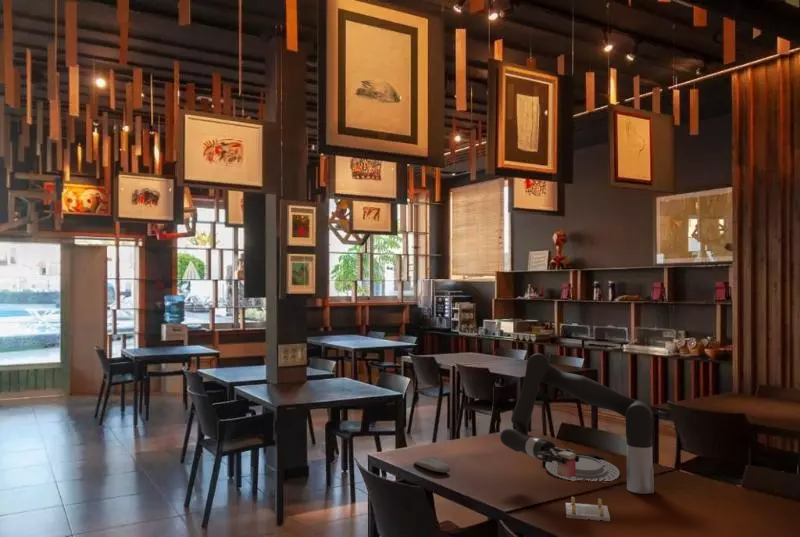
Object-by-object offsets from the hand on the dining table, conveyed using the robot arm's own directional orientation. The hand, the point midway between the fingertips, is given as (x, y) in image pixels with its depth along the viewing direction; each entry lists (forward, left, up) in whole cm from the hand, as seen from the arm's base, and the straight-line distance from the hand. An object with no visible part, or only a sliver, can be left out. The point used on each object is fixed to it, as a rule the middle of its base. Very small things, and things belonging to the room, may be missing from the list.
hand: (571, 459), depth 225 cm
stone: (+52, -42, -16) cm, 69 cm away
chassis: (-5, +1, -18) cm, 18 cm away
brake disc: (-5, -51, -18) cm, 55 cm away
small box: (+2, -2, -6) cm, 7 cm away
